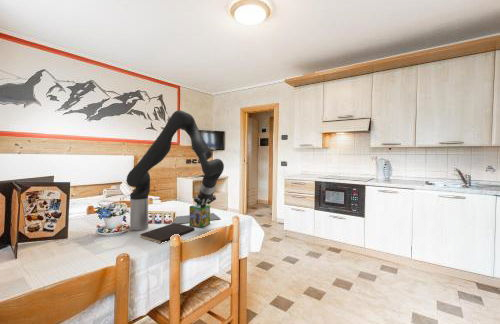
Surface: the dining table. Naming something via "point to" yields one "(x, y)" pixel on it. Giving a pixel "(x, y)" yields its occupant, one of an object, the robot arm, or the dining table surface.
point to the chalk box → (199, 215)
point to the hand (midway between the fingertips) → (202, 207)
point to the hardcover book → (167, 232)
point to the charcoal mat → (187, 219)
